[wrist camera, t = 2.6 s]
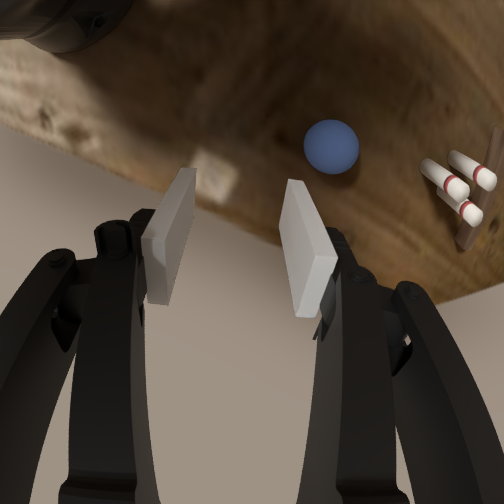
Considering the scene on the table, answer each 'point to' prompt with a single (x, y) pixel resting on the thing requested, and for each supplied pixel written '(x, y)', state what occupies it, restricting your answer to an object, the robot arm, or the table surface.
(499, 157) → the back wall
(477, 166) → the pin
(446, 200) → the pin
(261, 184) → the table surface
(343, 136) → the ball
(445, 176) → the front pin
